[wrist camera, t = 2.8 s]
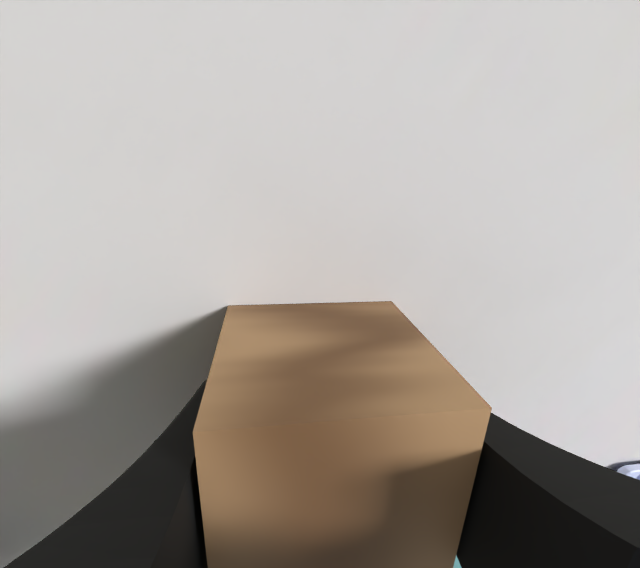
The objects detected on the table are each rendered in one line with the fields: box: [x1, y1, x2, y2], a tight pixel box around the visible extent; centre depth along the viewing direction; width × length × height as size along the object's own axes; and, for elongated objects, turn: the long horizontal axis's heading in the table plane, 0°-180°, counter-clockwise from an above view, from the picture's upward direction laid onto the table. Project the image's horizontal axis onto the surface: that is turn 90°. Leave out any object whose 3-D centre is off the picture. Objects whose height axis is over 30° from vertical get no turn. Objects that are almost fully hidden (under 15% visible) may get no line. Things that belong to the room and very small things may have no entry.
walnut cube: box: [193, 301, 492, 568], centre depth 9 cm, size 6×6×6 cm
